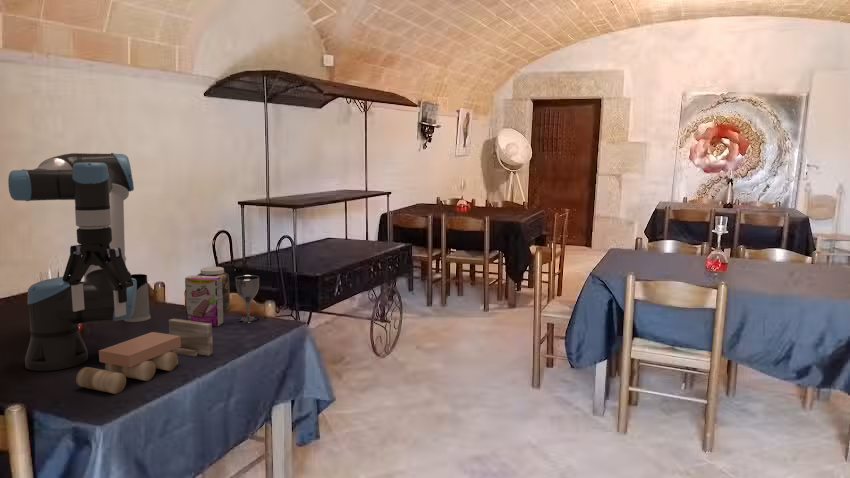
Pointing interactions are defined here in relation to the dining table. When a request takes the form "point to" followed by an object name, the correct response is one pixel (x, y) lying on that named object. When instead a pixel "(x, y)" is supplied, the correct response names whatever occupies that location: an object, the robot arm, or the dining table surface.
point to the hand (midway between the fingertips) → (99, 313)
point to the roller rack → (192, 343)
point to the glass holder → (140, 300)
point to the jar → (225, 282)
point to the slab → (139, 349)
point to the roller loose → (101, 380)
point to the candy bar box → (204, 299)
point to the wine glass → (247, 290)
